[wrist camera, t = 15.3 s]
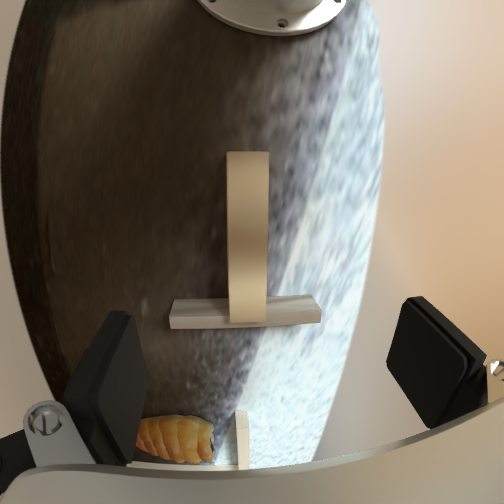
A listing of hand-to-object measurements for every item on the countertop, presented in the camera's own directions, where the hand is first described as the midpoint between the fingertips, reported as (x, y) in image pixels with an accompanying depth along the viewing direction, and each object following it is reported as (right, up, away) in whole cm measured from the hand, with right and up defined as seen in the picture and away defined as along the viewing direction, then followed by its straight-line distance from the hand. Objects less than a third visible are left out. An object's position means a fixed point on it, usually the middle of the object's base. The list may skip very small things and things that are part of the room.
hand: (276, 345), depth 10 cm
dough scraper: (-1, +5, +13) cm, 14 cm away
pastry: (-9, -17, +19) cm, 26 cm away
